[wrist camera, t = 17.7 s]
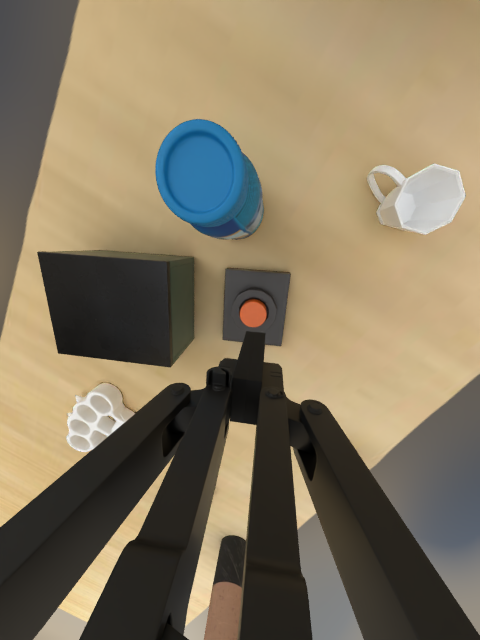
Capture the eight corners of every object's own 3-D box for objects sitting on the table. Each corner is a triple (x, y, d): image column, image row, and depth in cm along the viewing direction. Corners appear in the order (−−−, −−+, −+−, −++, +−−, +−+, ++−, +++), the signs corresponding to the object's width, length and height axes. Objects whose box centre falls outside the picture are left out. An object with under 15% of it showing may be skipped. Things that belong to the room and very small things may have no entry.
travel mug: (228, 530, 58) (207, 667, 39) (255, 543, 58) (247, 686, 40) (215, 545, 61) (190, 681, 42) (241, 558, 61) (227, 699, 42)
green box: (110, 329, 45) (68, 351, 35) (100, 250, 40) (49, 251, 31) (194, 338, 43) (173, 364, 34) (194, 257, 38) (169, 260, 29)
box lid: (63, 350, 35) (57, 353, 35) (43, 251, 31) (36, 251, 30) (173, 364, 34) (170, 367, 33) (169, 261, 29) (166, 261, 28)
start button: (241, 297, 36) (240, 300, 34) (267, 300, 35) (267, 302, 34) (240, 322, 37) (238, 326, 35) (265, 324, 37) (265, 328, 35)
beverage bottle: (275, 219, 35) (280, 191, 16) (229, 251, 37) (187, 258, 18) (245, 166, 33) (212, 66, 15) (199, 203, 36) (118, 157, 17)
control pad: (228, 267, 38) (223, 270, 34) (289, 272, 37) (291, 275, 33) (224, 335, 42) (220, 344, 38) (280, 341, 41) (281, 351, 37)
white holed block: (119, 457, 55) (64, 424, 54) (150, 407, 49) (90, 370, 48) (109, 470, 52) (51, 436, 51) (142, 419, 46) (77, 379, 45)
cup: (389, 247, 34) (423, 248, 27) (340, 201, 33) (361, 188, 26) (432, 205, 32) (482, 193, 24) (380, 155, 31) (416, 125, 23)
